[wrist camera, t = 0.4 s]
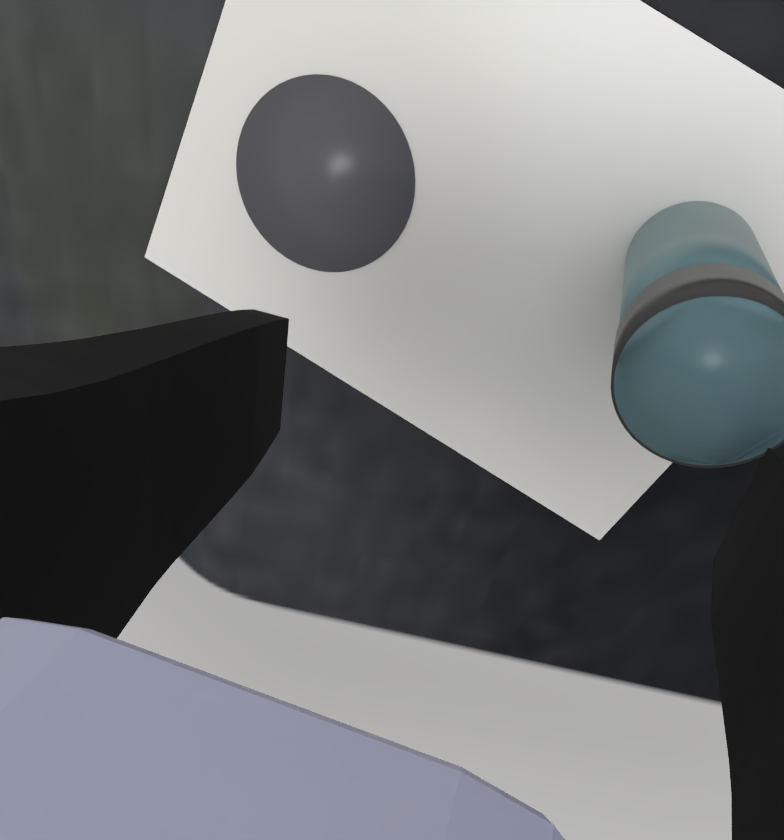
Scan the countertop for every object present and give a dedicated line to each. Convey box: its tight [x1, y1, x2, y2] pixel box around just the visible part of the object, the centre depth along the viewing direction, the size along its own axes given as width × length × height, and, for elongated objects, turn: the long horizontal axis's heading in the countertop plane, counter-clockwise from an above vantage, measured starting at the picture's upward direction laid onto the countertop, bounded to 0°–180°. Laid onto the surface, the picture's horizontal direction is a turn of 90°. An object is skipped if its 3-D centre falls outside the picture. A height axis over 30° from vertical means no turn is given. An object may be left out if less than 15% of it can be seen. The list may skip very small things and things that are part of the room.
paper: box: [145, 0, 784, 540], centre depth 19 cm, size 16×12×1 cm
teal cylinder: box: [611, 201, 784, 468], centre depth 15 cm, size 3×3×7 cm
